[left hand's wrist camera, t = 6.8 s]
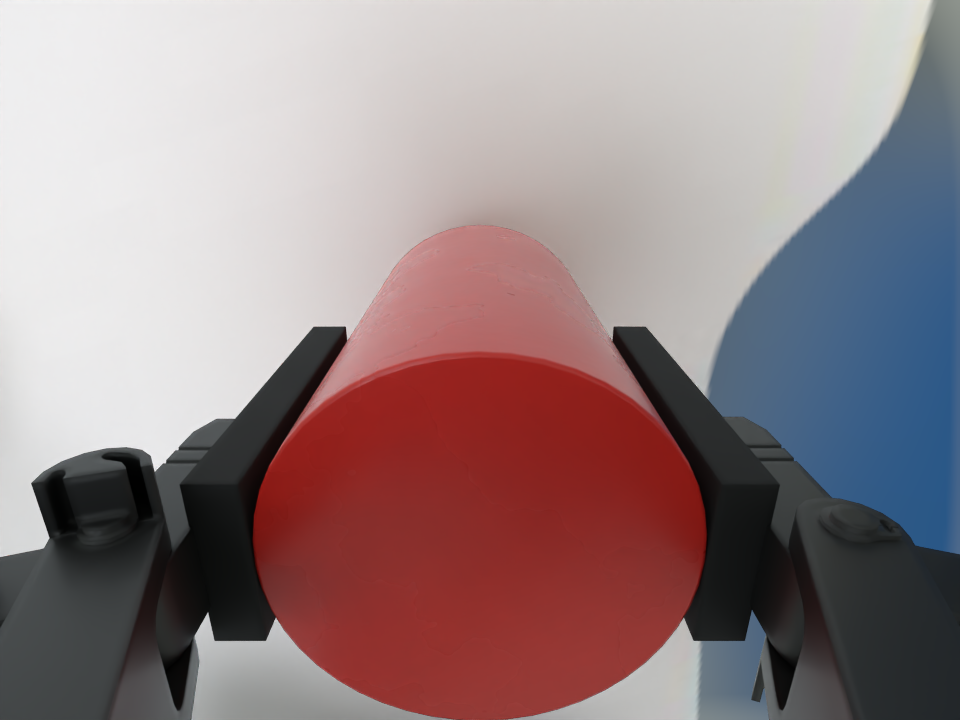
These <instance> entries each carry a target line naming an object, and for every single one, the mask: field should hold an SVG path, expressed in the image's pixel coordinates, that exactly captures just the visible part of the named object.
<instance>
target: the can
mask: <svg viewBox="0 0 960 720" xmlns="http://www.w3.org/2000/svg"><path fill="white" fill-rule="evenodd" d="M706 542H707V528H706V515H705V508H704V504H703V500H702V496H701V492H700V488H699V485H698V482H697V480H696V478H695V476H694V473H693V471H692V469H691V466H690V464H689V462H688V460H687V459H686V457H685V455H684V454H683V452H682V451H681V449H680V448H679V446H678V444H677V443H676V441H675V440H674V438H673V437H672V435H671V433H670V432H669V430H668V429H667V427H666V425H665V424H664V422H663V421H662V419H661V418H660V416H659V414H658V413H657V411H656V410H655V408H654V407H653V405H652V403H651V402H650V400H649V399H648V397H647V395H646V394H645V392H644V391H643V389H642V388H641V386H640V384H639V383H638V381H637V380H636V378H635V377H634V375H633V373H632V372H631V370H630V369H629V367H628V365H627V364H626V362H625V361H624V359H623V358H622V356H621V354H620V353H619V351H618V350H617V348H616V347H615V345H614V343H613V342H612V340H611V339H610V337H609V335H608V334H607V332H606V331H605V329H604V328H603V326H602V324H601V323H600V321H599V320H598V318H597V317H596V315H595V313H594V312H593V310H592V309H591V307H590V305H589V304H588V302H587V301H586V299H585V298H584V296H583V294H582V293H581V291H580V290H579V288H578V287H577V285H576V283H575V282H574V280H573V279H572V277H571V275H570V274H569V272H568V271H567V269H566V268H565V266H564V265H563V264H562V263H561V262H560V260H559V259H558V258H557V257H556V256H555V255H554V254H553V253H552V252H550V251H549V250H548V249H547V248H546V247H544V246H543V245H541V244H540V243H538V242H537V241H536V240H534V239H532V238H530V237H528V236H526V235H524V234H522V233H519V232H516V231H513V230H510V229H507V228H501V227H496V226H485V225H474V226H463V227H458V228H454V229H449V230H447V231H444V232H441V233H438V234H436V235H434V236H432V237H430V238H428V239H426V240H424V241H423V242H421V243H420V244H418V245H417V246H415V247H414V248H413V249H411V250H410V251H409V252H408V253H407V254H406V255H405V256H404V257H403V258H402V259H401V260H400V261H399V263H398V264H397V265H396V266H395V267H394V269H393V270H392V272H391V273H390V275H389V276H388V278H387V280H386V281H385V283H384V284H383V286H382V287H381V289H380V291H379V292H378V294H377V295H376V297H375V298H374V300H373V302H372V303H371V305H370V306H369V308H368V310H367V311H366V313H365V314H364V316H363V317H362V319H361V321H360V322H359V324H358V325H357V327H356V328H355V330H354V332H353V333H352V335H351V336H350V338H349V339H348V341H347V343H346V344H345V346H344V347H343V349H342V350H341V352H340V354H339V355H338V357H337V358H336V360H335V361H334V363H333V365H332V366H331V368H330V369H329V371H328V372H327V374H326V376H325V377H324V379H323V380H322V382H321V383H320V385H319V387H318V388H317V390H316V391H315V393H314V395H313V396H312V398H311V399H310V401H309V402H308V404H307V406H306V407H305V409H304V410H303V412H302V413H301V415H300V417H299V418H298V420H297V421H296V423H295V424H294V426H293V428H292V429H291V431H290V432H289V434H288V435H287V437H286V439H285V440H284V442H283V443H282V445H281V447H280V448H279V450H278V452H277V453H276V455H275V457H274V458H273V460H272V462H271V463H270V465H269V467H268V469H267V472H266V474H265V477H264V479H263V482H262V484H261V487H260V489H259V493H258V498H257V503H256V507H255V512H254V521H253V548H254V557H255V566H256V569H257V573H258V577H259V580H260V584H261V588H262V590H263V592H264V595H265V597H266V599H267V601H268V604H269V606H270V608H271V610H272V612H273V613H274V615H275V617H276V618H277V620H278V621H279V623H280V624H281V626H282V628H283V629H284V631H285V632H286V633H287V634H288V635H289V637H290V638H291V639H292V640H293V641H294V643H295V644H296V645H297V646H298V647H299V649H300V650H301V651H303V652H304V653H305V654H306V655H307V656H308V657H309V658H310V659H311V660H312V661H313V662H314V663H315V664H316V665H318V666H319V667H320V668H322V669H323V670H324V671H326V672H327V673H328V674H330V675H331V676H333V677H334V678H335V679H337V680H338V681H340V682H342V683H343V684H345V685H347V686H349V687H350V688H352V689H354V690H356V691H357V692H359V693H361V694H364V695H366V696H368V697H370V698H373V699H375V700H377V701H379V702H381V703H384V704H387V705H390V706H393V707H396V708H399V709H403V710H406V711H410V712H414V713H419V714H423V715H427V716H432V717H440V718H448V719H455V720H503V719H513V718H519V717H526V716H533V715H537V714H541V713H545V712H549V711H554V710H558V709H561V708H563V707H566V706H569V705H572V704H575V703H578V702H581V701H583V700H585V699H587V698H589V697H592V696H594V695H596V694H598V693H600V692H602V691H604V690H606V689H608V688H609V687H611V686H613V685H614V684H616V683H618V682H619V681H621V680H623V679H624V678H626V677H627V676H629V675H630V674H631V673H633V672H634V671H635V670H637V669H638V668H639V667H640V666H642V665H643V664H644V663H646V662H647V661H648V660H649V659H650V658H651V657H652V656H653V655H654V654H655V653H656V652H657V651H658V650H659V649H660V648H661V647H662V646H663V645H664V644H665V642H666V641H667V640H668V639H669V637H670V636H671V635H672V634H673V632H674V631H675V630H676V629H677V627H678V626H679V624H680V622H681V621H682V619H683V617H684V616H685V614H686V612H687V611H688V609H689V607H690V605H691V603H692V601H693V598H694V596H695V593H696V591H697V589H698V586H699V583H700V579H701V575H702V571H703V567H704V563H705V554H706Z"/></svg>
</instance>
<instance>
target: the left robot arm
mask: <svg viewBox="0 0 960 720" xmlns="http://www.w3.org/2000/svg"><path fill="white" fill-rule="evenodd" d="M612 342H613V343H614V345H615V347H616V348H617V350H618V351H619V353H620V354H621V356H622V358H623V359H624V361H625V362H626V364H627V365H628V367H629V369H630V370H631V372H632V373H633V375H634V377H635V378H636V380H637V381H638V383H639V384H640V386H641V388H642V389H643V391H644V392H645V394H646V395H647V397H648V399H649V400H650V402H651V403H652V405H653V407H654V408H655V410H656V411H657V413H658V414H659V416H660V418H661V419H662V421H663V422H664V424H665V425H666V427H667V429H668V430H669V432H670V433H671V435H672V437H673V438H674V440H675V441H676V443H677V444H678V446H679V448H680V449H681V451H682V452H683V454H684V455H685V457H686V459H687V460H688V462H689V464H690V466H691V469H692V471H693V473H694V476H695V478H696V480H697V482H698V485H699V488H700V492H701V496H702V500H703V504H704V508H705V515H706V528H707V542H706V554H705V563H704V567H703V571H702V575H701V579H700V583H699V586H698V589H697V591H696V593H695V596H694V598H693V601H692V603H691V605H690V607H689V609H688V611H687V612H686V614H685V616H684V619H685V621H686V624H687V626H688V628H689V631H690V633H691V635H692V638H693V640H694V641H745V638H746V633H747V629H748V624H749V620H750V616H751V611H752V610H753V612H754V614H755V616H756V617H757V619H758V621H759V623H760V624H761V626H762V628H763V630H764V631H765V633H766V637H765V641H764V645H763V649H762V653H761V657H760V661H759V666H758V670H757V674H756V678H755V682H754V686H753V692H752V700H754V701H757V702H760V699H761V695H762V692H763V689H764V688H765V694H766V702H767V709H768V716H769V720H960V554H955V553H949V552H944V551H939V550H934V549H929V548H924V547H919V546H915V545H914V543H913V541H912V539H911V537H910V536H909V535H908V534H907V533H906V532H905V530H904V529H903V528H902V527H901V526H900V525H899V524H898V523H896V522H895V521H893V520H892V519H890V518H889V517H887V516H886V515H884V514H883V513H881V512H878V511H876V510H874V509H871V508H869V507H867V506H864V505H862V504H859V503H855V502H851V501H847V500H843V499H836V498H832V497H831V496H830V495H829V494H828V493H827V492H826V491H825V490H824V489H823V488H822V487H821V486H820V485H819V484H818V483H817V482H816V481H815V480H814V479H813V478H812V477H811V476H810V475H809V474H808V472H807V471H806V470H805V469H804V468H803V467H802V466H801V465H800V464H799V463H798V462H797V461H794V458H793V457H792V456H791V455H790V454H789V453H788V452H787V451H786V450H785V449H784V448H781V444H780V443H779V442H778V441H777V440H776V439H775V438H774V437H773V436H772V435H771V434H770V433H769V432H768V431H767V430H766V429H764V428H762V427H760V426H759V425H757V424H755V423H753V422H751V421H750V420H748V419H746V418H744V417H722V416H721V414H720V413H719V412H718V411H717V410H716V409H715V407H714V406H713V405H712V404H711V403H710V402H709V400H708V399H707V398H706V397H705V396H704V395H703V393H702V392H701V391H700V390H699V389H698V387H697V386H696V385H695V384H694V383H693V382H692V380H691V379H690V378H689V377H688V376H687V375H686V373H685V372H684V371H683V370H682V369H681V368H680V366H679V365H678V364H677V363H676V362H675V361H674V359H673V358H672V357H671V356H670V355H669V353H668V352H667V351H666V350H665V349H664V348H663V346H662V345H661V344H660V343H659V342H658V341H657V339H656V338H655V337H654V336H653V335H652V334H651V332H650V331H649V330H648V329H647V328H646V327H614V330H613V341H612ZM346 343H347V334H346V327H313V328H312V330H311V331H310V332H309V333H308V334H307V335H306V337H305V338H304V339H303V340H302V341H301V342H300V344H299V345H298V346H297V347H296V348H295V349H294V351H293V352H292V353H291V354H290V355H289V357H288V358H287V359H286V360H285V361H284V362H283V364H282V365H281V366H280V367H279V368H278V369H277V371H276V372H275V373H274V374H273V375H272V376H271V378H270V379H269V380H268V381H267V382H266V383H265V385H264V386H263V387H262V388H261V389H260V391H259V392H258V393H257V394H256V395H255V396H254V398H253V399H252V400H251V401H250V402H249V403H248V405H247V406H246V407H245V408H244V409H243V410H242V412H241V413H240V414H239V415H238V416H237V417H236V419H216V420H214V421H212V422H210V423H209V424H207V425H205V426H203V427H201V428H200V429H198V430H196V431H194V432H193V433H192V434H191V435H190V436H189V437H188V438H187V439H186V440H185V441H184V442H183V443H182V444H181V445H180V447H179V450H176V451H175V452H174V453H173V454H172V455H171V456H170V457H169V458H168V459H167V460H166V464H162V465H161V466H160V467H159V469H158V470H157V471H156V472H154V468H153V464H152V460H151V456H150V455H148V454H147V453H146V452H144V451H143V450H139V449H133V448H127V447H124V448H107V449H102V450H97V451H93V452H88V453H84V454H81V455H78V456H75V457H73V458H70V459H67V460H65V461H62V462H60V463H58V464H56V465H55V466H53V467H51V468H49V469H48V470H46V471H44V472H43V473H42V474H41V475H40V476H38V477H37V478H36V479H35V480H34V481H33V482H32V483H31V484H32V487H33V490H34V493H35V496H36V499H37V502H38V505H39V508H40V511H41V514H42V517H43V520H44V522H45V525H46V528H47V531H48V534H49V537H50V539H49V540H48V542H47V544H46V546H45V548H44V549H40V550H35V551H30V552H25V553H19V554H14V555H9V556H4V557H0V720H191V718H192V710H193V703H194V696H195V689H196V682H197V675H198V667H199V656H198V649H197V645H196V641H195V637H194V636H195V634H196V632H197V630H198V629H199V627H200V625H201V623H202V622H203V620H204V618H205V616H206V614H207V613H209V618H210V622H211V626H212V631H213V635H214V640H215V641H266V639H267V637H268V635H269V632H270V630H271V627H272V625H273V623H274V620H275V618H276V617H275V615H274V613H273V612H272V610H271V608H270V606H269V604H268V601H267V599H266V597H265V595H264V592H263V590H262V588H261V584H260V580H259V577H258V573H257V569H256V566H255V557H254V548H253V521H254V512H255V507H256V503H257V498H258V493H259V489H260V487H261V484H262V482H263V479H264V477H265V474H266V472H267V469H268V467H269V465H270V463H271V462H272V460H273V458H274V457H275V455H276V453H277V452H278V450H279V448H280V447H281V445H282V443H283V442H284V440H285V439H286V437H287V435H288V434H289V432H290V431H291V429H292V428H293V426H294V424H295V423H296V421H297V420H298V418H299V417H300V415H301V413H302V412H303V410H304V409H305V407H306V406H307V404H308V402H309V401H310V399H311V398H312V396H313V395H314V393H315V391H316V390H317V388H318V387H319V385H320V383H321V382H322V380H323V379H324V377H325V376H326V374H327V372H328V371H329V369H330V368H331V366H332V365H333V363H334V361H335V360H336V358H337V357H338V355H339V354H340V352H341V350H342V349H343V347H344V346H345V344H346Z"/></svg>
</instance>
